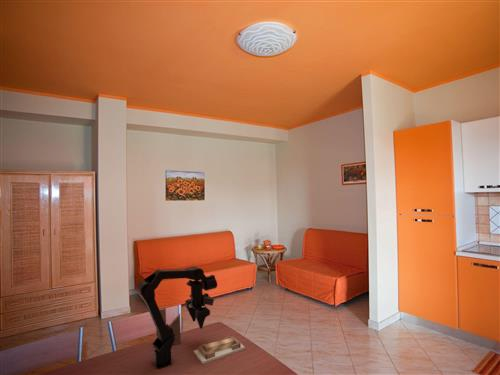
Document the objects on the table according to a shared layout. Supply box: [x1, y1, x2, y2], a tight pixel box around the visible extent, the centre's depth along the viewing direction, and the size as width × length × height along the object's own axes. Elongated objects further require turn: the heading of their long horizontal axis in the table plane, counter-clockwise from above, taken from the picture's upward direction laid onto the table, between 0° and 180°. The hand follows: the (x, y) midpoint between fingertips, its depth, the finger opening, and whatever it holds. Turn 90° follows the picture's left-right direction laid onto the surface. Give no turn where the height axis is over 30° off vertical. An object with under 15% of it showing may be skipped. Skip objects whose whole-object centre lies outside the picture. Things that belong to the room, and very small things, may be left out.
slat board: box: [193, 335, 246, 365], centre depth 142 cm, size 22×11×3 cm, turn 122°
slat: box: [204, 338, 234, 353], centre depth 142 cm, size 14×4×3 cm, turn 114°
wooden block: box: [158, 306, 182, 345], centre depth 151 cm, size 4×11×18 cm, turn 96°
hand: (197, 324), depth 144 cm, fingers open, 9 cm apart
